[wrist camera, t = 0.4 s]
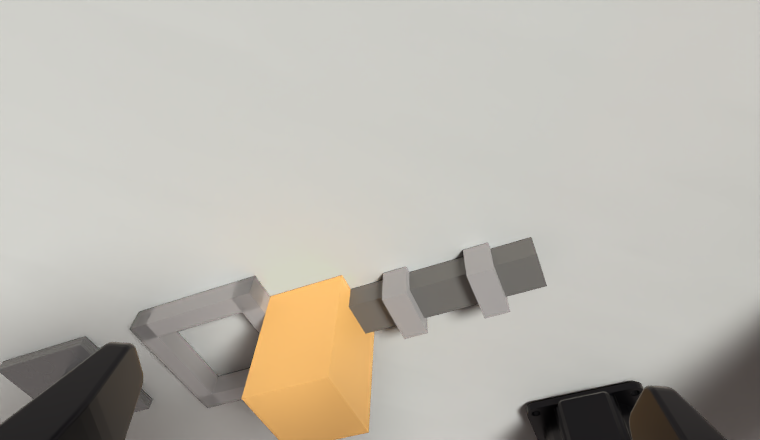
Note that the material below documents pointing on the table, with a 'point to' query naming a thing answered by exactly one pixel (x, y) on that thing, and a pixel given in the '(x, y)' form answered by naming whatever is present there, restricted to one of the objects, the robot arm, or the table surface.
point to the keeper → (53, 368)
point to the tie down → (328, 335)
